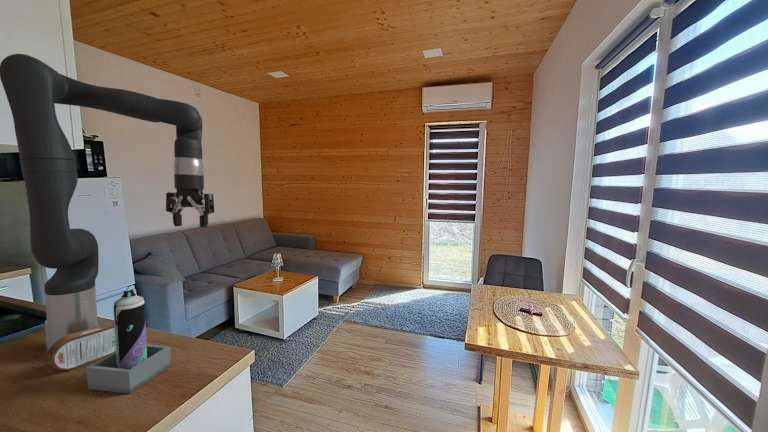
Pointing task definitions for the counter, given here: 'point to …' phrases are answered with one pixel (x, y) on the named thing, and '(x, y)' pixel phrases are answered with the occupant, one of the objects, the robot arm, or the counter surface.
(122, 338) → the spray can
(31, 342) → the counter surface
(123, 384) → the box
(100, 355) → the tin
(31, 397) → the counter surface
